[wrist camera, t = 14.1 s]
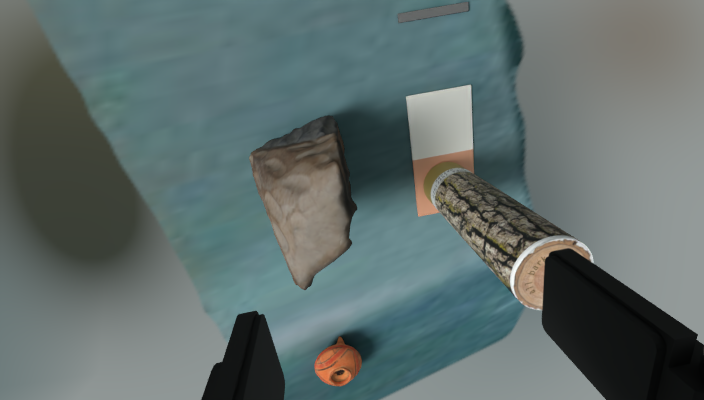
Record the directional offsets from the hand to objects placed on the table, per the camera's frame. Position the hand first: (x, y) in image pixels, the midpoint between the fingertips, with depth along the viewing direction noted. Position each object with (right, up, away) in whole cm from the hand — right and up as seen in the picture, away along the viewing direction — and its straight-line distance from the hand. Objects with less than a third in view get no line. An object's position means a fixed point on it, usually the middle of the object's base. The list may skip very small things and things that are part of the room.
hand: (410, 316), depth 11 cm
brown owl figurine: (-9, +10, +37) cm, 39 cm away
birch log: (+12, +7, +40) cm, 42 cm away
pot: (-5, -23, +49) cm, 55 cm away
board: (+10, +15, +37) cm, 41 cm away
